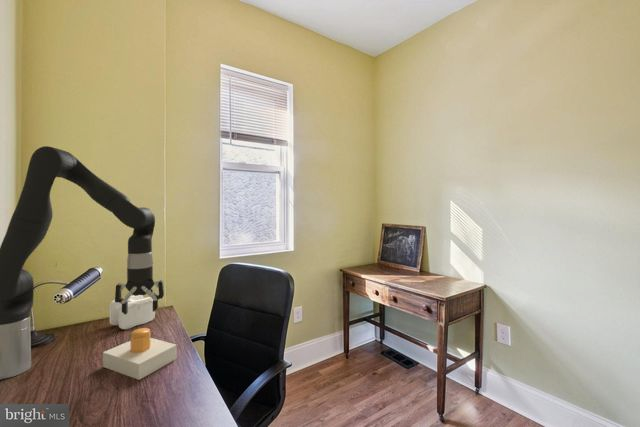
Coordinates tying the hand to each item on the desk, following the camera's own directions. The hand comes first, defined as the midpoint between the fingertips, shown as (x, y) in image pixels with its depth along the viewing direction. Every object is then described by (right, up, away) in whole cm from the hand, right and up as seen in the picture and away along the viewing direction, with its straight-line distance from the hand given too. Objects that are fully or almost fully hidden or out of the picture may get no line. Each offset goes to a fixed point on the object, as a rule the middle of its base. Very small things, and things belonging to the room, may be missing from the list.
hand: (140, 312), depth 102 cm
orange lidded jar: (0, -13, 0) cm, 13 cm away
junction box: (0, -18, +1) cm, 18 cm away
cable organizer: (-24, -17, +34) cm, 45 cm away
